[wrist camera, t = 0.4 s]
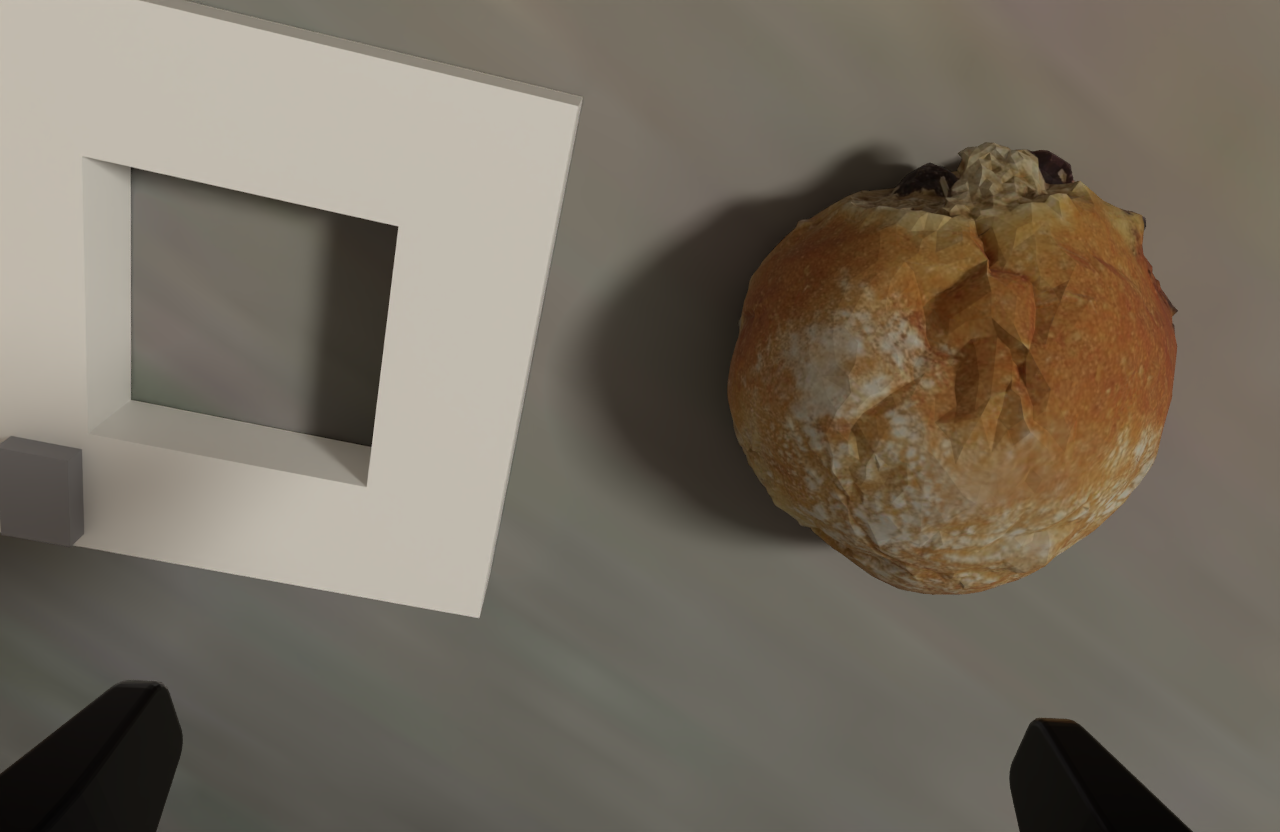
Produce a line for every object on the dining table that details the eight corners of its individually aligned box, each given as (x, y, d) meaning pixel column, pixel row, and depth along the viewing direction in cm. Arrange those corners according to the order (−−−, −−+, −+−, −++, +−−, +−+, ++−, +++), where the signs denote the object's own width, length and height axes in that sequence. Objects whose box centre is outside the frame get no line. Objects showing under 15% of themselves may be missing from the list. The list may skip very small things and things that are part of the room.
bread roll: (678, 309, 26) (611, 527, 21) (933, 13, 19) (933, 229, 13) (941, 470, 28) (943, 705, 23) (1258, 262, 21) (1370, 532, 16)
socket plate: (489, 573, 25) (475, 633, 23) (4, 484, 24) (-64, 536, 22) (582, 96, 20) (576, 109, 18) (-32, -52, 19) (-127, -60, 16)
